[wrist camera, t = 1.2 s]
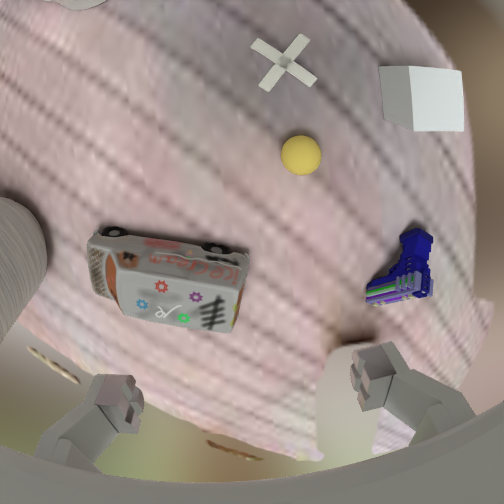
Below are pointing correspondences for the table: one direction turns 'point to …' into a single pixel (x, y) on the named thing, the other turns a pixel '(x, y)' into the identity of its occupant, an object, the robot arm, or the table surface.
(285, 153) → the ball
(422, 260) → the toy gun
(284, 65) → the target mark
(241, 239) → the table surface
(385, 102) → the grey block
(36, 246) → the vase
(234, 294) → the toy car
